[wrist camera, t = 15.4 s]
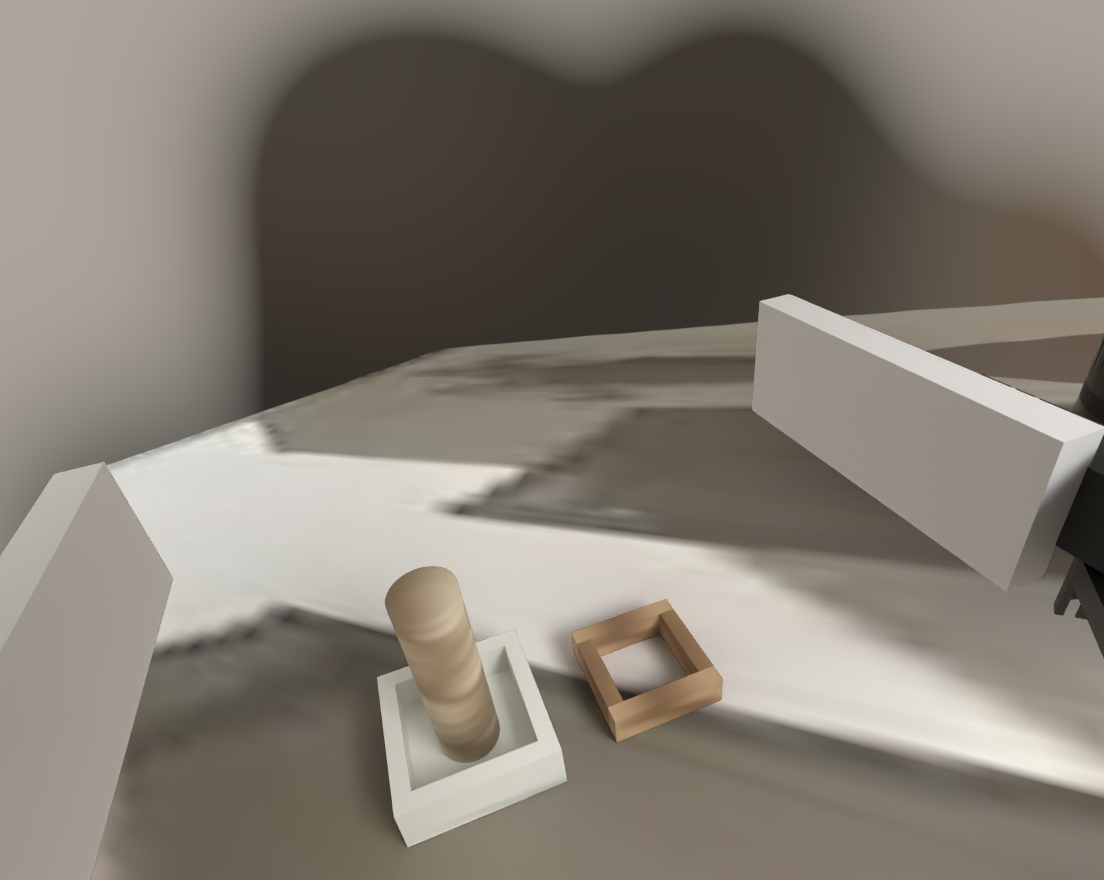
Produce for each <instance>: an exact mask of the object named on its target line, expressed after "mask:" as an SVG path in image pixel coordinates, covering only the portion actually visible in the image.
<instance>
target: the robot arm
mask: <svg viewBox="0 0 1104 880" xmlns="http://www.w3.org/2000/svg"><path fill="white" fill-rule="evenodd" d="M759 305H760V306H759V318H758V319H759V320H758V332H757V347H756V361H755V376H754V390H753V404H752V410H753V411H754V412H756V413H757V414H758V415H760V416H761V417H762V418H764V419H765V420H767V421H768V422H769V423H771V424H772V425H774V426H775V427H776V428H778V429H779V430H781V431H782V432H783V433H785V434H786V435H788V436H789V437H790V438H792V439H793V440H795V441H796V442H797V443H799V444H800V445H802V446H803V447H804V448H806V449H807V450H809V451H810V452H811V453H813V454H814V455H816V456H817V457H818V458H820V459H821V460H823V461H824V462H825V463H827V464H828V465H830V466H831V467H832V468H834V469H835V470H837V471H838V472H839V473H841V474H842V475H844V476H845V477H846V478H848V479H849V480H851V481H852V482H853V483H855V484H856V485H858V486H859V487H860V488H862V489H863V490H865V491H866V492H867V493H869V494H870V495H871V496H873V497H874V498H876V499H877V500H878V501H880V502H881V503H883V504H884V505H885V506H887V507H888V508H890V509H891V510H892V511H894V512H895V513H897V514H898V515H899V516H901V517H902V518H904V519H905V520H906V521H908V522H909V523H911V524H912V525H913V526H915V527H916V528H918V529H919V530H920V531H922V532H923V533H925V534H926V535H927V536H929V537H930V538H932V539H933V540H934V541H936V542H937V543H939V544H940V545H941V546H943V547H944V548H946V549H947V550H948V551H950V552H951V553H953V554H954V555H955V556H957V557H958V558H960V559H961V560H962V561H964V562H965V563H967V564H968V565H969V566H971V567H972V568H973V569H975V570H976V571H978V572H979V573H980V574H982V575H983V576H985V577H986V578H987V579H989V580H990V581H992V582H993V583H994V584H996V585H997V586H999V587H1000V588H1001V589H1003V590H1004V591H1006V592H1007V591H1009V590H1012V589H1014V588H1017V587H1019V586H1022V585H1024V584H1026V583H1029V582H1031V581H1034V580H1036V579H1039V578H1041V577H1043V576H1044V574H1045V572H1046V569H1047V567H1048V565H1049V562H1050V560H1051V557H1052V555H1053V553H1054V550H1055V548H1056V546H1058V547H1060V548H1061V549H1063V550H1065V551H1066V552H1068V553H1070V554H1071V555H1073V556H1075V558H1074V561H1073V563H1072V565H1071V567H1070V570H1069V572H1068V574H1067V576H1066V578H1065V581H1064V583H1063V585H1062V587H1061V589H1060V592H1059V594H1058V596H1057V598H1056V601H1055V603H1054V614H1057V615H1064V612H1065V610H1066V608H1067V606H1068V604H1069V602H1070V600H1072V599H1079V601H1080V603H1081V605H1080V607H1079V609H1078V611H1077V613H1076V615H1075V617H1076V618H1081V619H1087V620H1088V622H1089V625H1090V627H1091V629H1092V632H1093V634H1094V636H1095V639H1096V641H1097V644H1098V646H1099V648H1100V651H1101V653H1102V655H1103V658H1104V334H1103V336H1102V339H1101V341H1100V344H1099V346H1098V349H1097V351H1096V354H1095V356H1094V358H1093V361H1092V363H1091V366H1090V368H1089V371H1088V373H1087V376H1086V379H1085V382H1084V384H1083V387H1082V390H1081V392H1080V394H1079V397H1078V399H1077V401H1076V402H1075V404H1074V405H1073V406H1072V407H1071V408H1070V409H1069V410H1066V409H1064V408H1062V407H1059V406H1057V405H1054V404H1052V403H1050V402H1047V401H1045V400H1043V399H1037V398H1035V397H1034V396H1033V395H1031V394H1028V393H1026V392H1023V391H1021V390H1019V389H1013V388H1011V386H1009V385H1007V384H1004V383H1002V382H1000V381H997V380H995V379H992V378H990V377H988V376H985V375H983V374H978V373H975V372H973V371H971V370H968V369H966V368H963V367H961V366H958V365H956V364H954V363H952V362H949V361H947V360H945V359H942V358H940V357H937V356H935V355H933V354H930V353H928V352H926V351H923V350H921V349H918V348H916V347H914V346H911V345H909V344H906V343H904V342H902V341H899V340H897V339H895V338H892V337H890V336H887V335H885V334H883V333H880V332H878V331H876V330H873V329H871V328H868V327H866V326H864V325H861V324H859V323H857V322H854V321H852V320H849V319H847V318H845V317H842V316H840V315H838V314H835V313H833V312H830V311H828V310H826V309H823V308H821V307H819V306H816V305H814V304H811V303H809V302H806V301H804V300H802V299H799V298H797V297H795V296H792V295H790V294H788V295H784V296H780V297H776V298H772V299H767V300H763V301H760V304H759ZM172 580H173V577H172V575H171V574H170V572H169V570H168V569H167V567H166V565H165V564H164V562H163V560H162V559H161V557H160V555H159V554H158V552H157V550H156V548H155V547H154V545H153V543H152V542H151V540H150V538H149V537H148V535H147V533H146V532H145V530H144V528H143V527H142V525H141V523H140V522H139V520H138V518H137V516H136V515H135V513H134V511H133V510H132V508H131V506H130V505H129V503H128V501H127V500H126V498H125V496H124V495H123V493H122V491H121V490H120V488H119V486H118V485H117V483H116V481H115V479H114V478H113V476H112V474H111V473H110V471H109V469H108V468H107V466H106V464H105V463H104V462H102V463H98V464H94V465H90V466H86V467H81V468H77V469H73V470H69V471H65V472H61V473H57V474H54V475H53V477H52V478H51V480H50V481H49V483H48V485H47V486H46V488H45V489H44V490H43V492H42V494H41V495H40V497H39V499H38V500H37V501H36V503H35V504H34V506H33V507H32V509H31V510H30V512H29V513H28V515H27V516H26V518H25V520H24V521H23V522H22V524H21V526H20V527H19V529H18V530H17V532H16V533H15V535H14V536H13V538H12V539H11V541H10V542H9V544H8V545H7V547H6V548H5V550H4V551H3V553H2V554H1V556H0V880H91V877H92V873H93V870H94V866H95V862H96V859H97V855H98V851H99V848H100V844H101V840H102V837H103V833H104V829H105V826H106V822H107V818H108V815H109V811H110V807H111V804H112V800H113V796H114V793H115V789H116V785H117V782H118V778H119V774H120V771H121V767H122V763H123V760H124V756H125V752H126V749H127V745H128V741H129V738H130V734H131V731H132V727H133V723H134V720H135V716H136V712H137V709H138V705H139V701H140V698H141V694H142V690H143V687H144V683H145V679H146V676H147V672H148V668H149V665H150V661H151V657H152V654H153V650H154V646H155V643H156V639H157V635H158V632H159V628H160V624H161V621H162V617H163V613H164V610H165V606H166V602H167V599H168V595H169V591H170V588H171V584H172Z"/></svg>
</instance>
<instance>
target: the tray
mask: <svg viewBox="0 0 1104 880" xmlns="http://www.w3.org/2000/svg"><path fill="white" fill-rule="evenodd" d="M476 646H477V649H478V652H479V656H480V659H481V663H482V666H483V669H484V673H485V676H486V680H487V683H488V686H489V690H490V693H491V697H492V700H493V703H494V707H495V710H496V714H497V717H498V720H499V724H500V734H499V738H498V741H497V743H496V745H495V746H494V748H493V749H492V750H491V751H490V752H489V753H488V754H487V755H486V756H484V757H483V758H481V759H479V760H477V761H474V762H470V763H459V762H455V761H453V760H451V759H450V758H448V757H447V756H446V755H445V754H444V752H443V750H442V748H441V745H440V743H439V740H438V738H437V735H436V733H435V730H434V728H433V725H432V723H431V720H430V718H429V715H428V713H427V710H426V708H425V705H424V703H423V700H422V698H421V695H420V692H419V690H418V687H417V685H416V682H415V680H414V677H413V675H412V672H411V670H410V667H409V666H407V667H405V668H402V669H399V670H396V671H393V672H390V673H387V674H385V675H382V676H379V677H377V681H378V690H379V698H380V706H381V714H382V723H383V731H384V739H385V748H386V756H387V764H388V772H389V781H390V789H391V797H392V806H393V814H394V819H395V821H396V823H397V825H398V827H399V830H400V832H401V834H402V836H403V838H404V840H405V842H406V845H407V847H410V846H413V845H415V844H417V843H420V842H422V841H425V840H427V839H429V838H432V837H434V836H437V835H439V834H441V833H444V832H446V831H449V830H451V829H454V828H456V827H458V826H461V825H463V824H466V823H468V822H470V821H473V820H475V819H478V818H480V817H482V816H485V815H487V814H490V813H492V812H494V811H497V810H499V809H502V808H504V807H506V806H509V805H511V804H514V803H516V802H518V801H521V800H523V799H526V798H528V797H531V796H533V795H535V794H538V793H540V792H543V791H545V790H547V789H550V788H552V787H555V786H557V785H559V784H562V783H564V782H567V778H566V772H565V766H564V760H563V755H562V750H561V747H560V744H559V742H558V739H557V737H556V734H555V732H554V729H553V726H552V724H551V721H550V719H549V716H548V713H547V711H546V708H545V706H544V703H543V701H542V698H541V695H540V693H539V690H538V688H537V685H536V683H535V680H534V677H533V675H532V672H531V670H530V667H529V664H528V662H527V659H526V657H525V654H524V652H523V649H522V646H521V644H520V641H519V639H518V636H517V633H516V631H515V629H514V630H511V631H508V632H505V633H502V634H499V635H496V636H494V637H491V638H488V639H485V640H482V641H479V642H476Z"/></svg>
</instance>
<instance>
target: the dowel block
mask: <svg viewBox="0 0 1104 880" xmlns="http://www.w3.org/2000/svg"><path fill="white" fill-rule="evenodd" d="M659 634H661V636H662V637H663V639H664V640H665V642H666V643H667V645H668V646H669V648H670V650H671V651H672V653H673V654H674V656H675V657H676V659H677V660H678V662H679V663H680V665H681V666H682V668H683V669H684V671H685V673H686V674H687V676H686V677H684V678H681V679H679V680H676V681H674V682H671V683H669V684H666V685H663V686H661V687H658V688H656V689H653V690H651V691H648V692H646V693H643V694H640V695H638V696H635V697H633V698H630V699H628V700H625V701H623V699H622V697H621V695H620V693H619V691H618V690H617V688H616V686H615V684H614V682H613V680H612V678H611V676H610V674H609V672H608V670H607V668H606V666H605V665H604V663H603V661H602V659H601V657H600V656H603V655H605V654H608V653H611V652H613V651H616V650H619V649H621V648H624V647H627V646H630V645H632V644H635V643H638V642H640V641H643V640H646V639H648V638H651V637H654V636H656V635H659ZM572 641H573V648H574V654H575V656H576V658H577V660H578V662H579V664H580V666H581V668H582V670H583V672H584V675H585V677H586V679H587V681H588V683H589V685H590V687H591V689H592V691H593V693H594V695H595V698H596V700H597V702H598V704H599V706H600V708H601V710H602V712H603V714H604V716H605V719H606V721H607V723H608V725H609V727H610V729H611V731H612V733H613V735H614V737H615V740H616V742H619V741H622V740H624V739H626V738H629V737H631V736H634V735H636V734H639V733H641V732H644V731H646V730H649V729H651V728H653V727H656V726H658V725H661V724H663V723H666V722H668V721H671V720H673V719H675V718H678V717H680V716H683V715H685V714H688V713H690V712H693V711H695V710H697V709H700V708H702V707H705V706H707V705H710V704H712V703H715V702H717V701H720V700H721V699H722V681H723V679H722V677H721V676H720V674H719V673H718V672H717V670H716V669H715V667H714V666H713V664H712V663H711V662H710V660H709V659H708V657H707V656H706V655H705V653H704V652H703V650H702V649H701V648H700V646H699V645H698V643H697V642H696V640H695V639H694V638H693V636H692V635H691V633H690V632H689V631H688V629H687V628H686V626H685V625H684V624H683V622H682V621H681V619H680V618H679V616H678V615H677V614H676V612H675V611H674V609H673V608H672V607H671V605H670V604H669V602H668V601H667V600H666V599H664V600H662V601H659V602H656V603H653V604H650V605H648V606H645V607H642V608H639V609H636V610H634V611H631V612H628V613H625V614H622V615H620V616H617V617H614V618H611V619H609V620H606V621H603V622H600V623H597V624H595V625H592V626H589V627H586V628H583V629H581V630H578V631H575V632H572Z"/></svg>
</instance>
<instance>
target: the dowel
mask: <svg viewBox="0 0 1104 880" xmlns="http://www.w3.org/2000/svg"><path fill="white" fill-rule="evenodd" d="M385 606H386V609H387V612H388V614H389V617H390V619H391V622H392V624H393V627H394V629H395V632H396V634H397V637H398V640H399V642H400V645H401V647H402V650H403V652H404V655H405V657H406V660H407V662H408V665H409V667H410V670H411V672H412V675H413V677H414V680H415V682H416V685H417V687H418V690H419V692H420V695H421V698H422V700H423V703H424V705H425V708H426V710H427V713H428V715H429V718H430V720H431V723H432V725H433V728H434V730H435V733H436V735H437V738H438V740H439V743H440V745H441V748H442V750H443V752H444V754H445V755H446V756H447V757H448V758H450V759H451V760H453V761H455V762H459V763H470V762H474V761H477V760H479V759H481V758H483V757H484V756H486V755H487V754H488V753H489V752H490V751H491V750H492V749H493V748H494V746H495V745H496V743H497V741H498V738H499V734H500V724H499V720H498V717H497V714H496V710H495V707H494V703H493V700H492V697H491V693H490V690H489V686H488V683H487V680H486V676H485V673H484V669H483V666H482V663H481V659H480V656H479V652H478V649H477V646H476V642H475V639H474V636H473V632H472V629H471V625H470V622H469V619H468V615H467V612H466V608H465V605H464V602H463V598H462V595H461V591H460V588H459V585H458V581H457V579H456V577H455V575H454V574H453V573H452V572H450V571H449V570H447V569H445V568H442V567H434V566H430V567H423V568H418V569H415V570H413V571H410V572H408V573H406V574H405V575H403V576H402V577H400V578H399V579H398V580H397V581H396V582H395V583H394V584H393V585H392V586H391V587H390V589H389V591H388V593H387V595H386V599H385Z"/></svg>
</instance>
